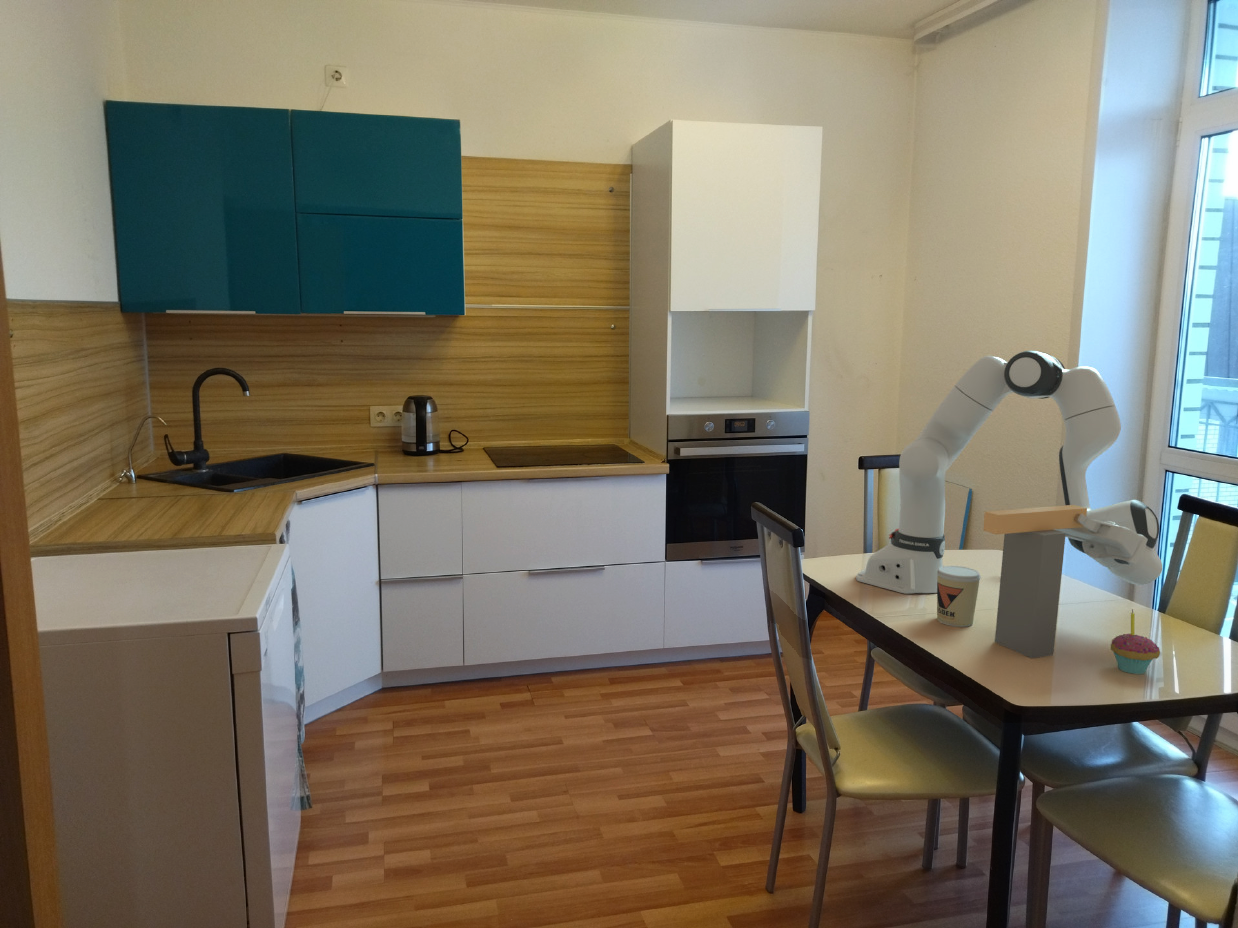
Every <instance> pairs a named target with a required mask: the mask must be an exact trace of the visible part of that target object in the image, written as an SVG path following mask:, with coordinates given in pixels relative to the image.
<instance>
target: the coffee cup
mask: <svg viewBox="0 0 1238 928" xmlns="http://www.w3.org/2000/svg"><path fill="white" fill-rule="evenodd" d="M937 575H938V576H937V593H936V619H937V622H939V623H941V624H944V625H946V626H950V627H958V628H959V627H961V628H964V627H971V626H972V625H973V623H974V617H975V611H976V605H977V599H978V594H979V587H980V586H979V585H980V580H981V577H982V576H981V575H980V572H979V571H978V570H977V569H973V568H970V567H965V566H958V565H944V566H943V567H940V568H939V569H938V571H937Z"/></svg>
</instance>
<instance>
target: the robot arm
mask: <svg viewBox="0 0 1238 928" xmlns="http://www.w3.org/2000/svg"><path fill="white" fill-rule="evenodd" d="M1013 393H1014V394H1017V395H1019V396H1021V397H1024V398H1026V399H1033V400H1035V399H1037V400H1038V399H1039V400H1040V399H1041V400H1044V399H1049V398H1051V399H1052V400H1053V401H1054V402H1055V403H1056V405H1057V406H1058V408H1059V410H1060V414H1061V417H1062V420H1063V423H1064V427H1065V438H1064V443H1063V445H1062V446H1061V447H1060V448H1059V452H1058V462H1059V472H1060V480H1061V486H1062V493H1063V498H1064V505H1076V506H1080V507H1084V508H1087V515H1086V516H1085V515H1082V514H1076V515H1075V516H1076V517H1074V521H1075V522H1076V523H1078V524H1081V525H1083V526H1084V527H1077V528H1066V529H1054V530H1056V531H1060V532H1063V533H1066V535H1065V538H1067V539H1068V542H1069V544H1070V545H1071V546H1072V547H1073V548H1074V549H1076V551H1079V552H1080V553H1083V554H1084V555H1085V554H1086V555H1087V556H1088V557H1089V558H1091V559H1092V560H1094V561H1095V562H1096V563H1098V564H1099V565H1101V566H1102V567H1105V568H1107V569H1108V570H1109V572H1111V574H1113V575H1115V576H1116V577H1118V578H1120V579H1121V580H1123V581H1125V582H1127V583H1129V584H1132V585H1137V586H1141V585H1142V586H1143V585H1146V584H1147V585H1148V584H1150V583H1153V582H1154V581H1155V580H1157V579H1158V578H1159V577H1160V576H1161V574H1162V572H1163V563H1162V560H1161V558H1160V556H1159V555H1158V553H1157V550H1156V547H1155V546H1156V544H1157V541H1158V538H1159V533H1160V523H1159V519H1158V517H1157V515H1156V513H1155V512H1154V511H1153V510H1152V508H1150V507H1149V506H1148V505H1147V504H1145V503H1144V502H1142V501H1141V500H1138V499H1131V500H1126V501H1121V502H1118V503H1114V504H1111V505H1107V506H1103V507H1097V508H1095V509H1093V508H1091V505H1090V500H1089V493H1088V485H1087V479H1086V473H1087V471H1088V468H1089V466H1090V465H1091V464H1092V462H1093V461H1095V460H1096V459H1097V458H1098V457H1100V456H1101V455H1102V454H1103V453H1105V452H1107V451H1108V450H1109V449H1110V448H1111V447H1112V446H1113V444H1115V443H1116V442H1117V439H1118V437H1119V436H1120V433H1121V429H1122V428H1121V427H1122V425H1121V424H1122V423H1121V419H1120V415H1119V412H1118V409H1117V407H1116V403H1115V401H1114V398H1113V395H1112V393H1111V392H1110V390H1109V387H1108V386H1107V384H1106V382H1105V380H1104V379H1103V377H1102V375H1101V374H1100V372H1099V371H1098V370H1097V369H1096V368H1094V367H1090V366H1077V367H1073V368H1069V369H1066V368H1065V366H1064V364H1063V363H1062V361H1060V360H1059V359H1058V358H1056V357H1054V356H1053V355H1051V354H1049V353H1046V352H1044V351H1038V350H1024V351H1021V352H1018V353H1016V354H1015V355H1014V356H1012V357H1011V358H1010V359H1009V360H1008V361H1006V360H1004V359H1003V358H1000V357H998V356H993V355H985V356H983V357H981V358H980V359H978V360H977V361H976V362H975V363H974V364H973V365H972V366H970V368H969V369H968V370H966V372H964V373H963V375H962V376H961V377H960V378H959V380H958V381H957V382H956V383H955V384H954V385H953V387H952V389H951V390H950V391H949V393H948V394H947V395H946V397H944V399H943V400H942V401H941V403H940V404H939V405H938V407H937V408H936V410H935V411H934V413H933V414H932V415H931V417H930V418H929V420H928V421H927V423H926V425H925V426H924V428H923V429H922V430H921V432H920V433H919V434H918V436H917V437H916V438H915V440H913V441H912V442H911V443H909V444H907V445H906V446H905V447H904V448H903V449H902V451H901V454H900V456H899V459H898V461H899V462H898V463H899V465H898V466H899V470H898V471H899V472H898V473H899V495H900V496H899V497H900V498H899V499H900V504H899V505H900V506H899V522H898V527H897V528H896V529H895V530H894V531H893V532H891V533H890V534H888V536H889V537H888V539H890V543H889V544H887V545H886V546H883V548H880V549H879V550H877V551H876V552H874V553H872V554H871V555H870V556H869V558H868V560H867V562H866V564H865V565H866V566H865V569H863V570H860V571H859V572H858V573H857V574H856V577H855V578H856V581H857V582H860V583H864V584H866V585H867V584H868V585H871V586H874V587H878V588H883V589H886V590H889V591H894V592H898V593H900V594H905V595H909V594H937V576H938V575H937V571H938V569H939V568H940V567H943V565H944V564H943V557H944V554H945V547H946V541H945V539H946V536H945V532H944V528H945V516H946V505H947V504H946V490H945V489H946V488H945V487H946V472H947V471H948V470H949V469H950V467H951V466H952V465H953V464H954V462H955V461H956V459H958V457H959V456H960V455H961V453H962V452H963V451H964V449H965V447H966V446H967V445H968V444H969V443H970V441H971V440H972V439H973V437H974V436H975V435H976V433H977V432H978V431H979V430H980V428H981V427H982V426H983V425H984V424H985V422H986V421H987V419H988V418H989V417H990V416H991V414H992V413H993V412H994V411H995V410H996V408H997V407H998V406H999V404H1001V402H1002V401H1003V400H1004V399H1005V398H1006V397H1007V396H1009V395H1010V394H1013Z"/></svg>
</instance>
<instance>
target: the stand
mask: <svg viewBox="0 0 1238 928" xmlns="http://www.w3.org/2000/svg"><path fill="white" fill-rule="evenodd" d="M1003 535H1004V537H1003V545H1002V547H1003V548H1002V557H1001V571H1000V578H999V579H1000V581H999V591H998V602H997V612H996V613H997V614H996V625H995V634H994V635H995V636H994V643H996V644H999V645H1001V646H1003V647H1005V648H1007V649H1010V650H1011V651H1013V652H1017V653H1018V654H1020V655H1023V656H1025V657H1027V658H1030V659H1035V658H1037V659H1038V658H1042V657H1043V658H1044V657H1050V656H1054V653H1055V652H1054V651H1055V644H1056V643H1055V642H1056V634H1057V633H1056V632H1057V624H1058V623H1057V622H1058V612H1059V604H1060V594H1061V583H1062V575H1063V565H1064V564H1063V562H1064V554H1065V544H1066V537H1065V535H1066V533H1063V532H1060V531H1056V530H1043V531H1032V532H1020V533H1009V534H1003Z"/></svg>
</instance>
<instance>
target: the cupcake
mask: <svg viewBox="0 0 1238 928" xmlns="http://www.w3.org/2000/svg"><path fill="white" fill-rule="evenodd" d="M1135 621H1136V620H1135V613H1134V609H1133V608H1131V613H1130V633H1124V634H1119V635H1117V636H1115V637H1113V638H1112V639H1111V643H1110V650H1111V651H1112V652H1113V655H1114V657H1115V659H1116V665H1117V668H1118V669H1119V671H1122V672H1125V673H1127V674H1128V673H1129V674H1133V675H1142V674H1143V675H1144V674H1145V673H1146V671H1148V670H1147V669H1148V668H1149V666H1150V664H1151V662H1152V661H1153V660H1155V659H1156V660H1157V659H1158V658H1159V657H1160V655H1161V649H1160V647H1159V646H1158V645H1157V643H1155V642H1154V641H1153V640H1152V639H1150V638H1148V637H1147V636H1145V637H1144V636H1143V635H1139V634H1135V625H1136V624H1135Z"/></svg>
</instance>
